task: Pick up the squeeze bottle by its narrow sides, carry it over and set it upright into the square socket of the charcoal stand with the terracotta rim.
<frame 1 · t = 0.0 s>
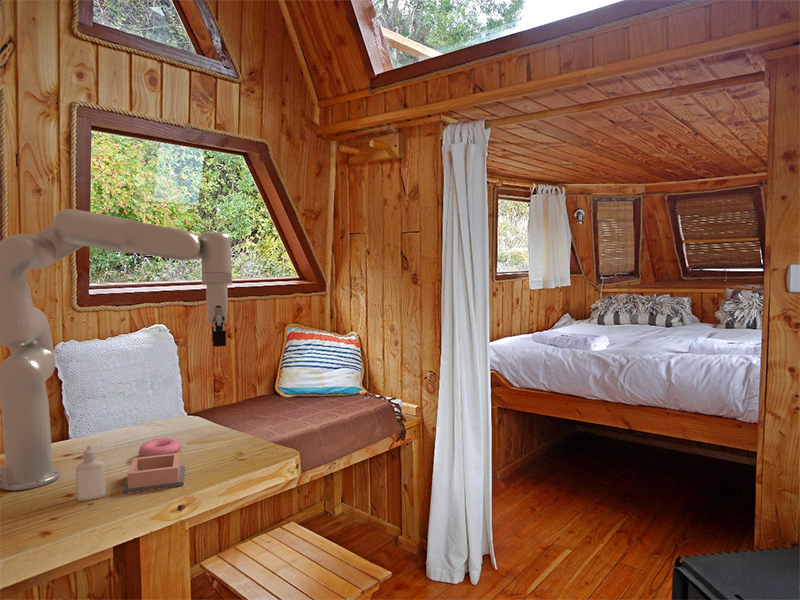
hand: (219, 343, 149), 31 cm above the table, tool pointing down, fingers open, 9 cm apart
squeeze bottle: (91, 498, 127), on the table
socket stand: (155, 480, 136), on the table
doughnut: (160, 457, 153), on the table
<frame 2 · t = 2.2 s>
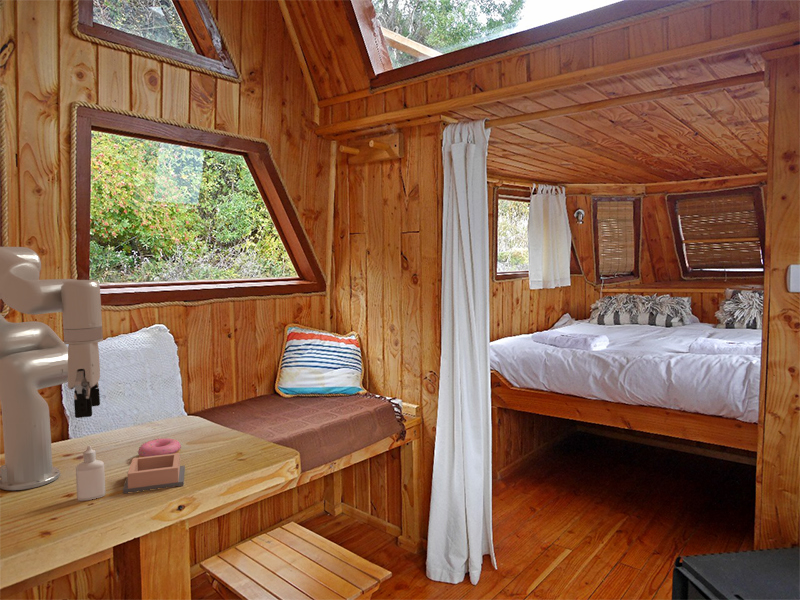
hand: (88, 411, 125), 20 cm above the table, tool pointing down, fingers open, 9 cm apart
nothing on the table moved.
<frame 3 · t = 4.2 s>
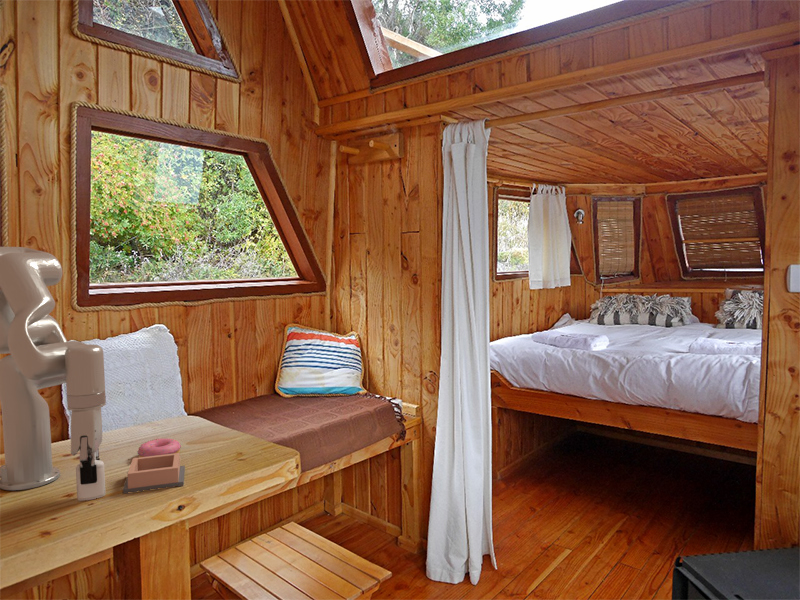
hand: (90, 478, 127), 4 cm above the table, tool pointing down, fingers closed on squeeze bottle, 3 cm apart
squeeze bottle: (91, 498, 127), on the table, touching gripper
everything else where it was.
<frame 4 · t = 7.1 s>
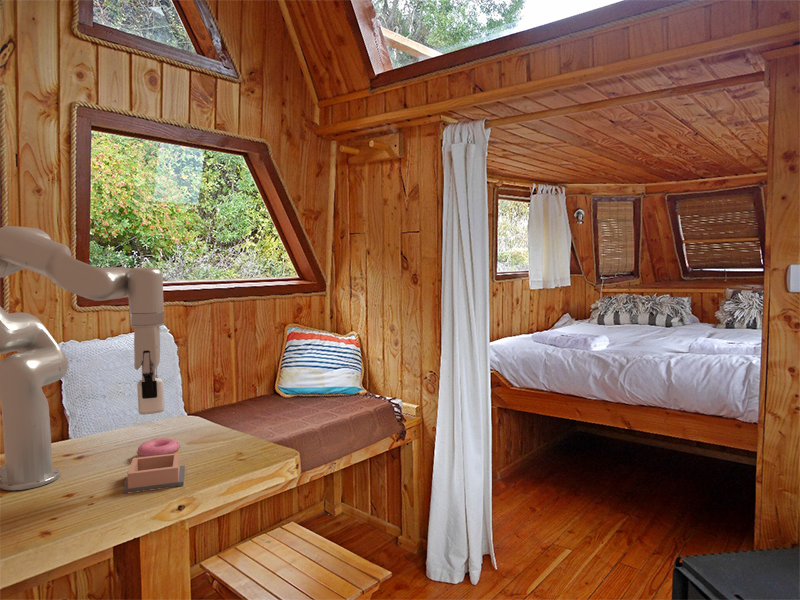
hand: (150, 395, 134), 21 cm above the table, tool pointing down, fingers closed on squeeze bottle, 3 cm apart
squeeze bottle: (151, 413, 134), point 17 cm above the table, touching gripper
everything else where it was.
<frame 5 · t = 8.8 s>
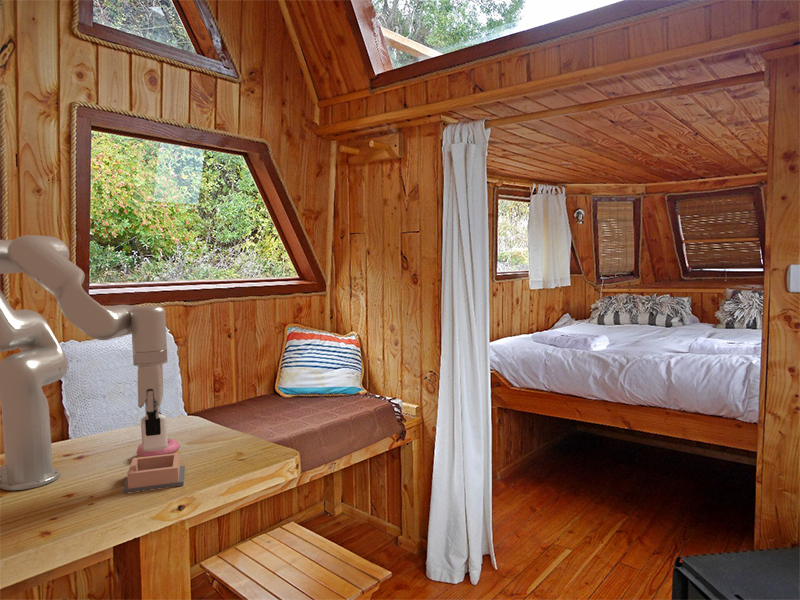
hand: (154, 431, 135), 12 cm above the table, tool pointing down, fingers closed on squeeze bottle, 3 cm apart
squeeze bottle: (155, 449, 135), point 8 cm above the table, touching gripper
everything else where it was.
when the fingers open (7 cm above the table, at t = 10.2 s): squeeze bottle drops 1 cm, resting on socket stand.
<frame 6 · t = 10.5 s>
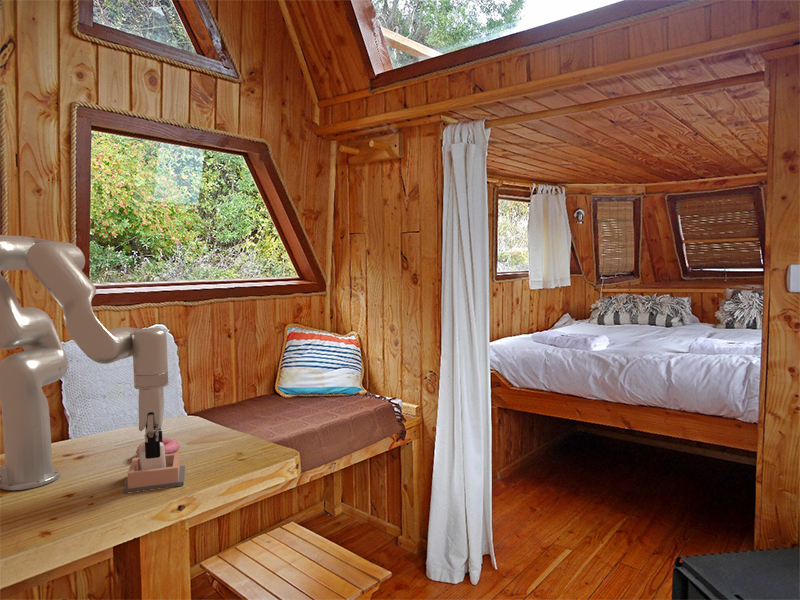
hand: (154, 451, 135), 7 cm above the table, tool pointing down, fingers open, 7 cm apart
squeeze bottle: (154, 477, 136), point 1 cm above the table, touching socket stand
everything else where it was.
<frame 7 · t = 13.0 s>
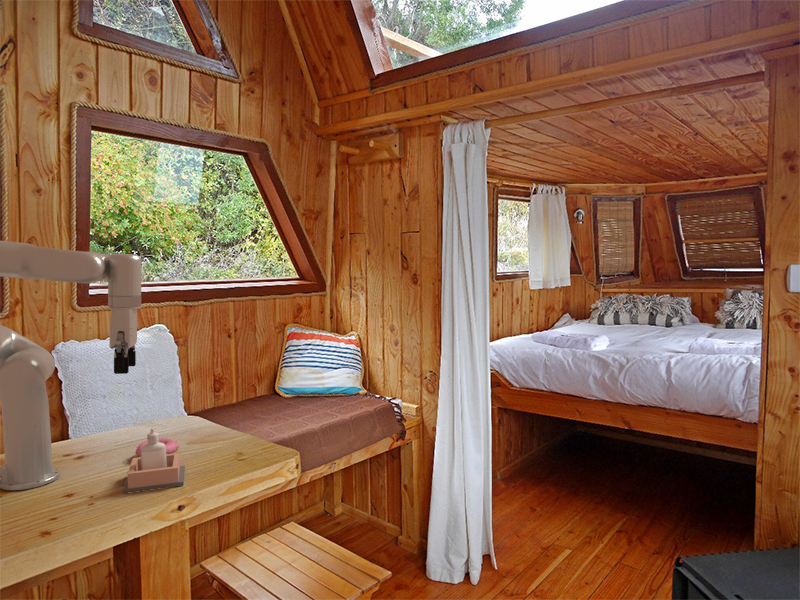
hand: (125, 369, 142), 26 cm above the table, tool pointing down, fingers open, 9 cm apart
nothing on the table moved.
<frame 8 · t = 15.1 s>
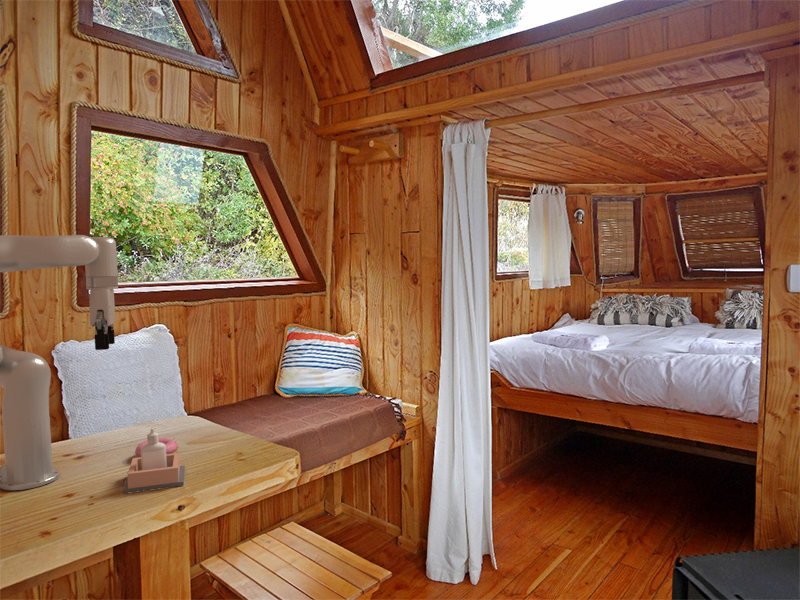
hand: (105, 346, 151), 30 cm above the table, tool pointing down, fingers open, 9 cm apart
nothing on the table moved.
at the end: squeeze bottle 0.2 cm off-centre on the socket stand, point 0.8 cm above the socket stand's base; squeeze bottle tilted 0°; the gripper is holding nothing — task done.
